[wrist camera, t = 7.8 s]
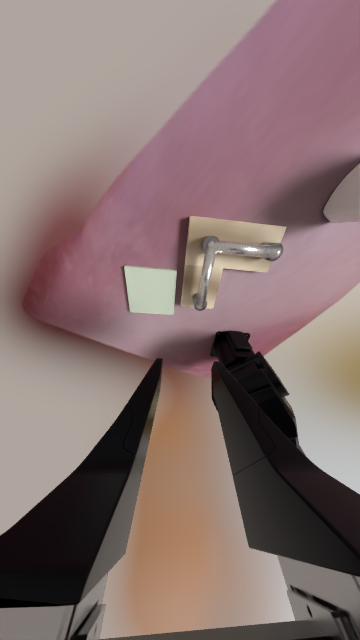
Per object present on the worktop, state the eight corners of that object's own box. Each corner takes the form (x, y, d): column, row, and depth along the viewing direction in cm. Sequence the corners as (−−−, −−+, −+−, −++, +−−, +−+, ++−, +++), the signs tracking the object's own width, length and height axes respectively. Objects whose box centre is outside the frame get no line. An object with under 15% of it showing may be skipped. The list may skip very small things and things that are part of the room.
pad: (173, 313, 22) (173, 315, 22) (131, 310, 22) (130, 311, 22) (176, 269, 19) (176, 271, 18) (125, 265, 18) (124, 266, 18)
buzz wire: (246, 307, 22) (258, 320, 19) (180, 302, 21) (181, 315, 18) (280, 227, 16) (305, 226, 13) (189, 216, 15) (192, 212, 12)
